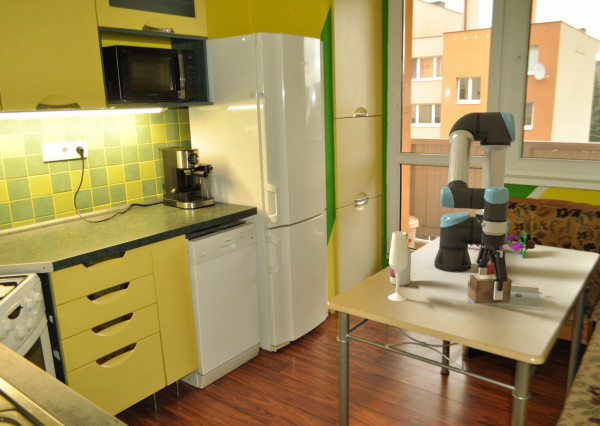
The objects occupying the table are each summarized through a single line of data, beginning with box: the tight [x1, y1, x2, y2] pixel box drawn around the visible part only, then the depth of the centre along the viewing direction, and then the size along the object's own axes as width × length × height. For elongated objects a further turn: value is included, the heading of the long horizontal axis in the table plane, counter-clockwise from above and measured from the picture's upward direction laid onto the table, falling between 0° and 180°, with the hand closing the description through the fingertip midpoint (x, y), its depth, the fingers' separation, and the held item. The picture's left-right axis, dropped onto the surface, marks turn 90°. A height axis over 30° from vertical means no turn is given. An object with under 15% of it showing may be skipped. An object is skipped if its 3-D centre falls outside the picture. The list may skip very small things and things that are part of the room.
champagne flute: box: [387, 231, 408, 302], centre depth 176 cm, size 7×7×24 cm
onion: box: [485, 261, 495, 275], centre depth 193 cm, size 6×6×8 cm
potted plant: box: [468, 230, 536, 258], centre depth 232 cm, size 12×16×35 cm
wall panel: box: [467, 279, 546, 312], centre depth 174 cm, size 24×18×3 cm
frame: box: [469, 274, 512, 303], centre depth 172 cm, size 12×6×8 cm, turn 92°
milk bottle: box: [389, 232, 412, 287], centre depth 191 cm, size 8×8×20 cm
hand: (489, 292), depth 172 cm, fingers open, 13 cm apart
